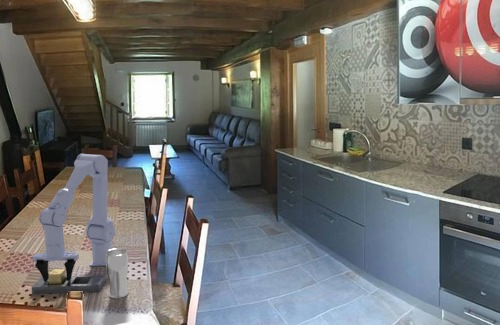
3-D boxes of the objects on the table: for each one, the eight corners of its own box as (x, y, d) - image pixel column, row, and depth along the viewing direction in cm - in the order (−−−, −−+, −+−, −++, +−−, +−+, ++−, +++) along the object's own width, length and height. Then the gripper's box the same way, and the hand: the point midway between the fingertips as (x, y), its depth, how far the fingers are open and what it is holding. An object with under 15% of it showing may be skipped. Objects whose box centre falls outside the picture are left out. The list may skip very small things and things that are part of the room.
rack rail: (42, 282, 142) (42, 276, 141) (105, 281, 144) (105, 274, 143) (32, 293, 134) (31, 287, 134) (99, 291, 136) (98, 285, 135)
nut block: (54, 285, 140) (53, 269, 139) (66, 285, 140) (65, 269, 139) (49, 290, 136) (48, 274, 135) (61, 290, 136) (60, 274, 135)
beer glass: (107, 291, 136) (105, 249, 134) (128, 287, 139) (126, 246, 136) (108, 300, 130) (105, 257, 127) (130, 297, 132) (128, 254, 130)
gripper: (27, 247, 131) (30, 286, 134) (72, 246, 132) (75, 284, 135) (36, 239, 138) (40, 276, 140) (79, 239, 139) (82, 275, 142)
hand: (57, 280), depth 138 cm, fingers open, 7 cm apart
